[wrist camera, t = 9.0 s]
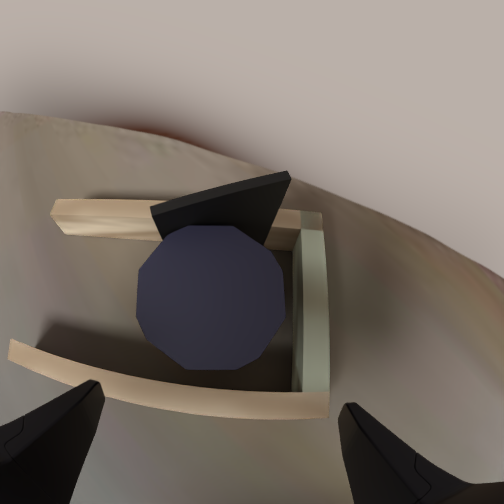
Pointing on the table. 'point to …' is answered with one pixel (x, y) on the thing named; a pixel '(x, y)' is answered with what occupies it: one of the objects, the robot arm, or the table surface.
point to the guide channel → (200, 398)
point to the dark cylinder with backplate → (214, 275)
